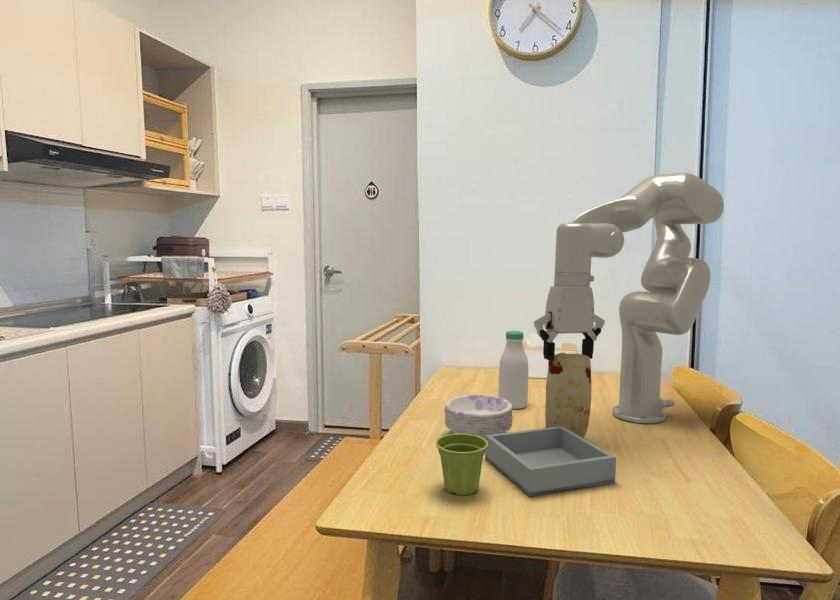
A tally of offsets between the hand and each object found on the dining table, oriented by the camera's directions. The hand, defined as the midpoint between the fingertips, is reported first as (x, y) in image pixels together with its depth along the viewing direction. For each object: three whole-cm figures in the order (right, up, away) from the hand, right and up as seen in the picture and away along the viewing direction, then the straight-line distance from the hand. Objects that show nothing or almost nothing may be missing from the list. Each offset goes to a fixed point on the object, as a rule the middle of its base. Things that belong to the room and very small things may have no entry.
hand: (568, 358), depth 126 cm
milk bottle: (-8, -16, +28) cm, 33 cm away
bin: (-8, -20, -14) cm, 26 cm away
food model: (0, -19, +3) cm, 19 cm away
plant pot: (-25, -22, -22) cm, 40 cm away
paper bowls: (-19, -18, +4) cm, 27 cm away
